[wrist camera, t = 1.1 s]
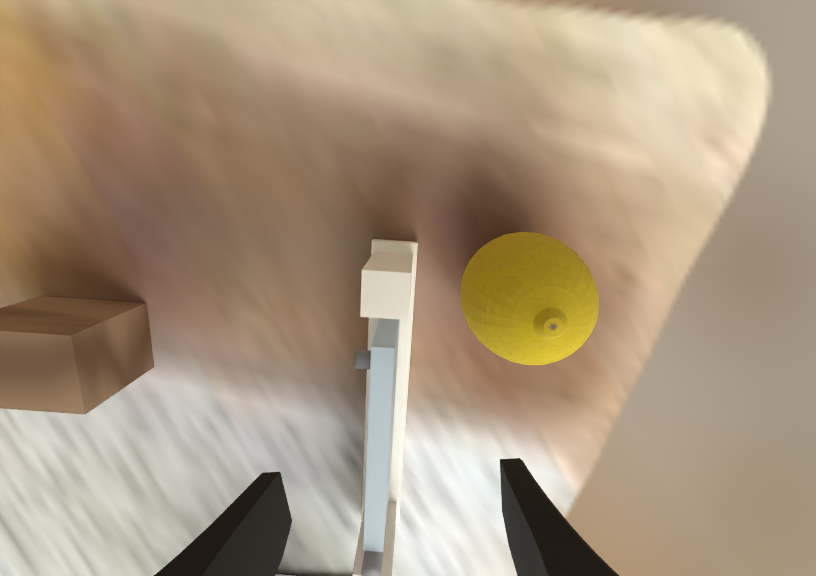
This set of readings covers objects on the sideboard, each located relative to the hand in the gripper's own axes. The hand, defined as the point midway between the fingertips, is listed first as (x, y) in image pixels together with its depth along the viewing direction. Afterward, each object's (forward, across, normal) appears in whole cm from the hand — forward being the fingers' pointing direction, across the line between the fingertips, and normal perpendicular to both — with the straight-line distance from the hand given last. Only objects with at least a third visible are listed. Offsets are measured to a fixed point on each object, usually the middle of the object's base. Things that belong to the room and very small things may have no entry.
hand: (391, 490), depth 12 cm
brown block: (+10, +18, -3) cm, 21 cm away
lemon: (+11, -6, -4) cm, 13 cm away
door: (+9, +2, +3) cm, 10 cm away
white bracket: (+10, +1, +3) cm, 11 cm away
